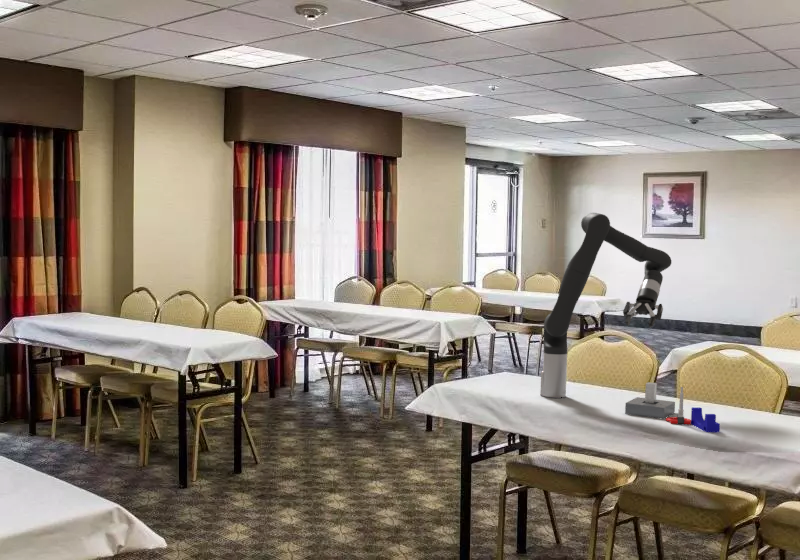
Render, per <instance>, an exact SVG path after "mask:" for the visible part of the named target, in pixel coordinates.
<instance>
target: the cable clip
mask: <svg viewBox="0 0 800 560" xmlns="http://www.w3.org/2000/svg"><path fill="white" fill-rule="evenodd" d="M690 420H691V424H692V426H693V425H694V427H695V426H696V427H695V428H697V427H698V428H697V429H699V430H701V431H703V432H704V433H720V431H721V423H719V422H717V415H716V414H715V413H705V414H704V416H703V408H702V407H695V406H694V407H691V414H690Z"/></svg>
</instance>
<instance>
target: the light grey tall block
mask: <svg viewBox="0 0 800 560" xmlns="http://www.w3.org/2000/svg"><path fill="white" fill-rule="evenodd" d="M657 387H658V382H649V381H648V382H646V383H645V390H644V391H645V393H644V394H645V395H644V396H645V397H644V398H645V403H649V404H656V400H657Z"/></svg>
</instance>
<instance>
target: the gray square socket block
mask: <svg viewBox="0 0 800 560" xmlns="http://www.w3.org/2000/svg"><path fill="white" fill-rule="evenodd" d="M674 412H675V413H676V401H670V400H664V399H663V400H662V399H656V404H649V403H645V397H639V396H638V397H635V398H632V399H631V400H628V401H627V402H625V408H624V414H626V415H630V414H631V415H632V416H637V415H639V416H640V417H645V416H646V417H645V418H652V417H655V419H660V418H662V419H661V420H665V419H666V417H667V416H668V417H670V416H671V414H672V413H673V414H675V413H674ZM673 414H672V415H673ZM669 415H670V416H669ZM639 416H638V417H639ZM668 417H667V418H668ZM664 418H665V419H664Z"/></svg>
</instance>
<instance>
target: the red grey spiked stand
mask: <svg viewBox="0 0 800 560" xmlns="http://www.w3.org/2000/svg"><path fill="white" fill-rule="evenodd" d="M684 413H685V411H684V387H683V386H680V393H679V409H678V414H677V416H668V417H667V418H665V421H667V422H668V423H670V425H671V424H672V425H682V424H684V425H685V424H687V426H689V425H691V418H685V416H684Z"/></svg>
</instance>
